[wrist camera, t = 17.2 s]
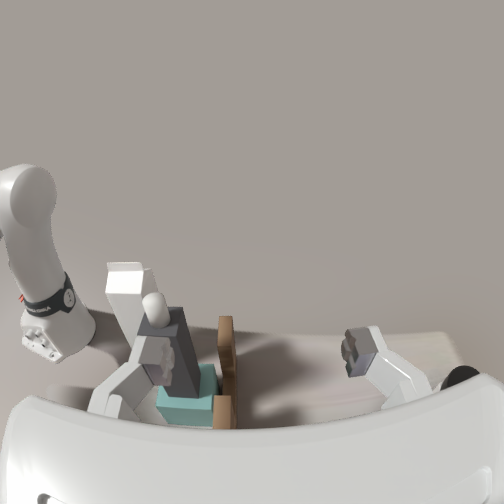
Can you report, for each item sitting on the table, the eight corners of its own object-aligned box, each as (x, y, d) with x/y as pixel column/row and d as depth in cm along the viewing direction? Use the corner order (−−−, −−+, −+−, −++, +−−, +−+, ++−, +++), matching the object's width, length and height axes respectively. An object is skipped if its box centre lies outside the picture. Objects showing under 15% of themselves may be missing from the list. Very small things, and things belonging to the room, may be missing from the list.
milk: (171, 370, 45) (135, 275, 33) (141, 368, 45) (97, 275, 33) (175, 345, 50) (147, 250, 38) (147, 344, 50) (113, 252, 38)
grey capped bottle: (168, 396, 33) (127, 314, 24) (172, 372, 37) (139, 286, 28) (198, 398, 33) (169, 315, 24) (201, 373, 37) (177, 286, 28)
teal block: (168, 423, 35) (155, 405, 32) (174, 384, 42) (163, 362, 38) (217, 426, 35) (211, 409, 32) (218, 385, 42) (213, 363, 38)
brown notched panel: (223, 460, 30) (212, 438, 24) (225, 358, 47) (219, 316, 41) (237, 460, 30) (230, 439, 24) (236, 358, 47) (232, 316, 41)
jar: (421, 450, 27) (462, 420, 21) (404, 414, 34) (437, 377, 27) (457, 427, 28) (496, 393, 22) (439, 396, 35) (472, 357, 29)
